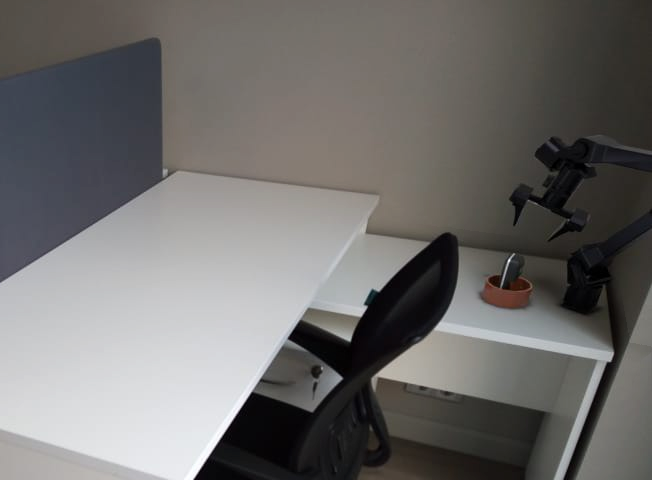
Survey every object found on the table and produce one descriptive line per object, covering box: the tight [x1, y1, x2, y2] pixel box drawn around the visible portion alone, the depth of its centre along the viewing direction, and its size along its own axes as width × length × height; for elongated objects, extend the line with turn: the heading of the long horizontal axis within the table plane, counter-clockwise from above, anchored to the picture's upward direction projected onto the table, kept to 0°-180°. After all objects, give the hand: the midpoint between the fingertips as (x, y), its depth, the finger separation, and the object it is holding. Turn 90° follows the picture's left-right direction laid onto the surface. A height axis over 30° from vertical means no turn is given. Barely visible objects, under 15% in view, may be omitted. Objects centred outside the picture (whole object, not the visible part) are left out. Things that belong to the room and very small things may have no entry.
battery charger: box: [498, 253, 526, 291], centre depth 182 cm, size 7×4×11 cm, turn 142°
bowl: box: [481, 273, 533, 309], centre depth 184 cm, size 11×11×4 cm
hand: (530, 233), depth 189 cm, fingers open, 9 cm apart
